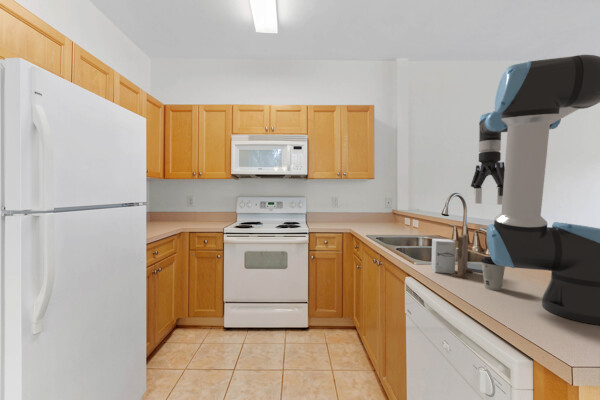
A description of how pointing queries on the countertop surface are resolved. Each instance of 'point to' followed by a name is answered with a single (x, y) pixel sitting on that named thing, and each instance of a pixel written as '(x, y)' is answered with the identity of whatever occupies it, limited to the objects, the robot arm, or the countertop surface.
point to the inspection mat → (475, 267)
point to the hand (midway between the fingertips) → (488, 204)
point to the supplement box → (443, 255)
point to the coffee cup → (492, 274)
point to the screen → (462, 257)
